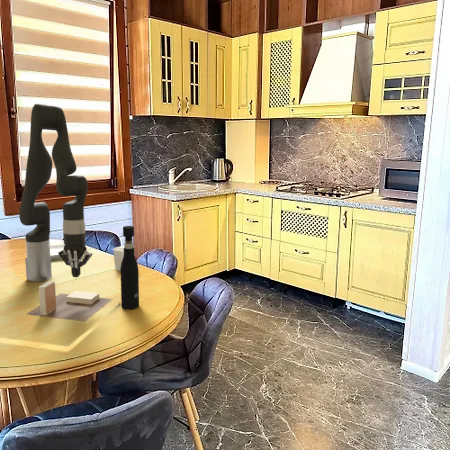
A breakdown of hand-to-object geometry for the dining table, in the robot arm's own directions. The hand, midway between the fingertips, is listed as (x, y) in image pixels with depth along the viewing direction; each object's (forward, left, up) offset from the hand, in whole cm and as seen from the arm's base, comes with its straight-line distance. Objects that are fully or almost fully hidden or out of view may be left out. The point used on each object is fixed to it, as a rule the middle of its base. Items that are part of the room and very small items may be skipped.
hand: (76, 276), depth 152 cm
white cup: (-2, +42, -11) cm, 43 cm away
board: (+1, -6, -10) cm, 12 cm away
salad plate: (-43, +55, -11) cm, 71 cm away
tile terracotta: (-4, -12, -9) cm, 16 cm away
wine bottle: (+20, +2, -11) cm, 23 cm away
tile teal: (-3, 0, -8) cm, 8 cm away
